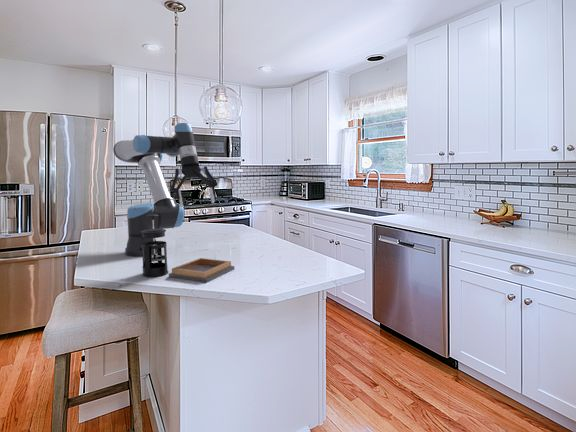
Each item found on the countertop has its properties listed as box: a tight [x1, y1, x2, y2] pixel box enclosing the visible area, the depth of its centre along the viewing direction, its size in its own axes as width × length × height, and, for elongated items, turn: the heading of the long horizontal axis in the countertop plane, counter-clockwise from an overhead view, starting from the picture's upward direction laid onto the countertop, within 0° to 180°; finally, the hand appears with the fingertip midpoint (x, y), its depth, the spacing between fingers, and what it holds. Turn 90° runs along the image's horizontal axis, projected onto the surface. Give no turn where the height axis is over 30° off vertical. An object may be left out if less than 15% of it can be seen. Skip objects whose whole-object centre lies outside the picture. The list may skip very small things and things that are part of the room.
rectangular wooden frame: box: [168, 257, 235, 283], centre depth 139 cm, size 17×19×3 cm
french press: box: [141, 214, 169, 278], centre depth 136 cm, size 12×9×23 cm
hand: (197, 204), depth 154 cm, fingers open, 13 cm apart
